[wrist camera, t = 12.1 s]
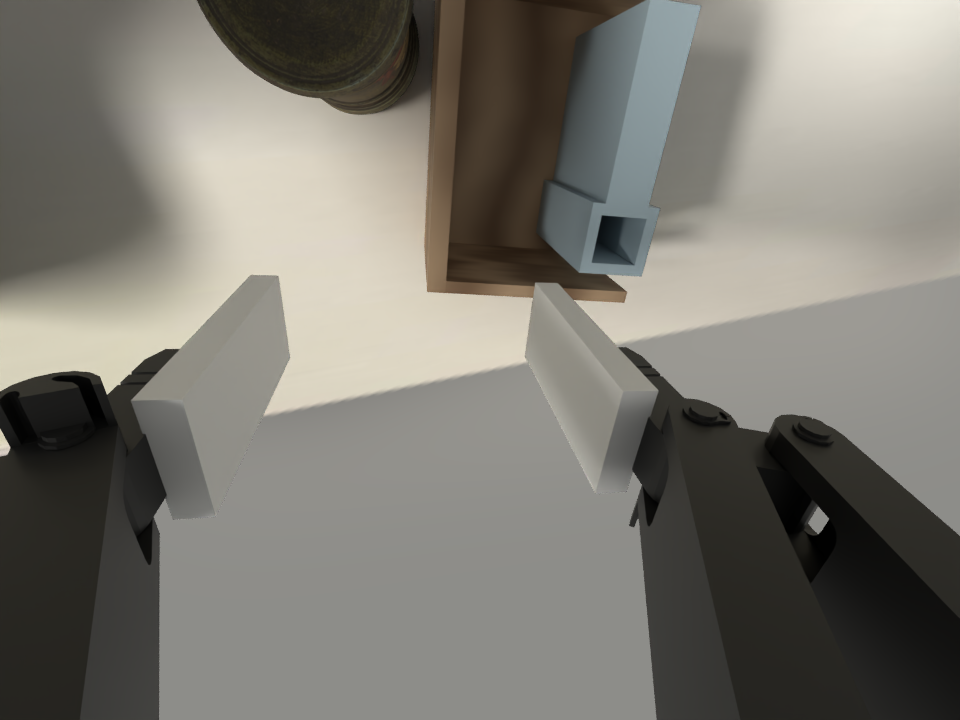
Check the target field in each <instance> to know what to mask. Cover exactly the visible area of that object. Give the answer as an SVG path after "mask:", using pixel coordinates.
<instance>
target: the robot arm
mask: <svg viewBox="0 0 960 720" xmlns="http://www.w3.org/2000/svg"><path fill="white" fill-rule="evenodd" d="M525 358H526V360H527V362H528V364H529V366H530V368H531V370H532V371H533V373H534V376H535V377H536V379H537V381H538V383H539V385H540V387H541V389H542V391H543V393H544V395H545V397H546V399H547V401H548V403H549V405H550V407H551V409H552V410H553V412H554V414H555V416H556V418H557V420H558V422H559V424H560V426H561V428H562V430H563V432H564V434H565V436H566V438H567V440H568V442H569V444H570V446H571V447H572V449H573V451H574V453H575V455H576V457H577V459H578V461H579V463H580V465H581V467H582V469H583V471H584V473H585V475H586V477H587V479H588V481H589V482H590V484H591V486H592V488H593V490H594V492H595V494H599V493H615V492H627V489H628V486H629V482H630V479H631V476H632V472H634V473H635V475H636V476H637V478H638V479H639V481H640V483H641V484H642V487H641V490H640V493H639V496H638V499H637V502H636V505H635V508H634V511H633V514H632V516H631V520H630V524H629V526H631V527H634V526H635V523H636V521H637V519H639V525H640V535H641V548H642V559H643V570H644V581H645V593H646V604H647V615H648V625H649V637H650V648H651V660H652V671H653V683H654V694H655V704H656V715H657V720H960V536H959V535H958V534H957V533H956V532H955V531H953V530H952V529H951V528H950V527H949V526H948V525H946V524H945V523H944V522H943V521H942V520H941V519H940V518H938V517H937V516H936V515H935V514H934V513H933V512H931V511H930V510H929V509H928V508H927V507H926V506H925V505H923V504H922V503H921V502H920V501H919V500H917V499H916V498H915V497H914V496H913V495H912V494H911V493H910V492H908V491H907V490H906V489H905V488H903V486H901V485H900V484H899V483H898V482H897V481H896V480H894V479H893V478H892V477H891V476H890V475H889V474H887V473H886V472H885V471H884V470H883V469H882V468H880V467H879V466H878V465H877V464H876V463H875V462H874V461H873V460H871V459H870V458H869V457H868V456H867V455H866V454H864V453H863V452H862V451H861V450H860V449H858V448H857V447H856V446H855V445H854V444H852V442H851V441H849V440H848V439H847V438H846V437H845V436H843V435H842V434H841V433H839V432H838V431H836V430H835V429H833V428H832V427H829V426H827V425H825V424H824V423H823V422H821V421H819V420H816V419H812V418H810V417H806V416H797V415H781V416H779V417H777V418H776V419H775V420H774V423H773V425H772V427H771V429H770V431H769V433H767V432H761V431H755V430H749V429H743V428H738V426H737V424H736V422H735V420H734V419H733V418H732V417H731V415H729V414H728V413H726V412H725V411H724V410H722V409H721V408H719V407H717V406H714V405H712V404H710V403H707V402H703V401H700V400H695V399H686V398H683V397H682V396H681V395H680V394H679V393H678V392H677V391H676V390H675V389H674V388H673V387H672V386H671V385H670V384H669V383H668V382H667V381H666V380H665V379H664V378H663V377H661V376H660V374H659V373H658V372H657V371H656V370H655V369H654V368H652V366H651V365H650V364H649V363H648V362H647V361H646V360H645V359H644V358H643V357H642V356H641V355H639V354H637V353H635V352H634V351H632V350H630V349H628V348H626V347H624V348H623V347H617V346H616V345H615V344H614V343H613V342H612V341H611V339H610V338H609V337H608V336H607V335H606V334H605V333H604V332H603V331H602V330H601V329H600V328H599V327H598V326H597V325H596V323H595V322H594V321H593V320H592V319H591V318H590V317H589V316H588V315H587V314H586V313H585V312H584V311H583V310H582V309H581V307H580V306H579V305H578V304H577V303H576V302H575V301H574V300H573V299H572V298H571V297H570V296H569V295H568V294H567V293H566V292H565V290H564V289H563V288H562V287H561V286H560V285H559V284H558V283H536V282H535V288H534V295H533V302H532V309H531V316H530V323H529V330H528V337H527V344H526V351H525ZM289 359H290V354H289V346H288V339H287V332H286V325H285V318H284V311H283V304H282V297H281V290H280V283H279V276H266V275H250V276H249V277H248V279H247V280H246V281H245V282H244V283H243V284H242V285H241V286H240V287H239V288H238V289H237V290H236V291H235V292H234V293H233V294H232V295H231V296H230V297H229V298H228V299H227V301H226V302H225V303H224V304H223V305H222V306H221V307H220V308H219V309H218V310H217V311H216V312H215V313H214V314H213V315H212V316H211V317H210V318H209V319H208V320H207V321H206V322H205V324H204V325H203V326H202V327H201V328H200V329H199V330H198V331H197V332H196V333H195V334H194V335H193V336H192V337H191V338H190V339H189V340H188V341H187V342H186V343H185V344H184V345H183V347H182V348H181V349H165V350H163V351H161V352H159V353H157V354H155V355H153V356H151V357H149V358H147V359H145V360H144V361H143V362H142V363H141V364H140V365H139V366H138V367H136V368H135V369H134V370H133V371H132V375H128V376H127V377H126V378H125V379H124V380H123V381H122V382H121V385H117V386H116V387H115V388H114V389H113V390H112V391H111V392H110V393H109V394H108V395H107V394H106V391H105V389H104V386H103V383H102V381H101V378H100V376H97V375H95V374H93V373H90V372H79V371H71V372H59V373H52V374H48V375H43V376H38V377H34V378H31V379H28V380H25V381H22V382H19V383H17V384H14V385H12V386H10V387H8V388H6V389H4V390H2V391H0V429H1V430H2V432H3V434H4V436H5V438H6V440H7V442H8V443H9V445H10V447H11V448H10V451H9V453H8V455H6V456H1V457H0V720H159V555H160V553H159V552H160V547H159V545H160V542H159V540H160V539H159V538H160V536H159V535H160V533H159V531H158V528H157V525H156V522H155V520H154V515H155V513H156V512H157V510H158V509H159V507H160V505H161V504H162V502H163V501H164V499H166V501H167V504H168V507H169V510H170V513H171V516H172V518H173V520H174V519H191V518H208V517H216V516H217V514H218V512H219V509H220V507H221V505H222V503H223V501H224V499H225V496H226V494H227V492H228V490H229V488H230V486H231V484H232V481H233V479H234V477H235V475H236V473H237V471H238V468H239V466H240V464H241V462H242V460H243V458H244V456H245V453H246V451H247V449H248V447H249V445H250V443H251V441H252V438H253V436H254V434H255V432H256V430H257V428H258V425H259V423H260V421H261V419H262V417H263V415H264V413H265V410H266V408H267V406H268V404H269V402H270V400H271V397H272V395H273V393H274V391H275V389H276V387H277V385H278V382H279V380H280V378H281V376H282V374H283V372H284V370H285V367H286V365H287V363H288V361H289ZM818 506H819V507H820V509H821V510H822V511H823V512H824V513H825V514H826V515H827V517H828V518H829V521H828V522H827V524H826V525H825V527H824V528H823V530H822V531H821V532H820V533H819V534H817V533H816V532H815V531H814V530H813V529H812V528H811V527H810V526H809V524H808V522H809V520H810V519H811V517H812V515H813V514H814V512H815V511H816V509H817V507H818Z"/></svg>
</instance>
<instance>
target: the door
mask: <svg viewBox="0 0 960 720" xmlns="http://www.w3.org/2000/svg"><path fill="white" fill-rule="evenodd" d="M700 8H701V6H699V5H693V4H687V3H681V2H675V1H669V0H645V1H643V2H642V3H640V4H638V5H636V6H634V7H632V8H630V9H628V10H626V11H625V12H623V13H621V14H619V15H617V16H615V17H613V18H611V19H609V20H608V21H606V22H604V23H602V24H600V25H598V26H596V27H594V28H592V29H591V30H589V31H587V32H585V33H583V34H581V35H579V36H577V37H576V41H575V48H574V54H573V60H572V66H571V72H570V79H569V85H568V91H567V97H566V103H565V110H564V116H563V122H562V128H561V134H560V141H559V147H558V153H557V159H556V165H555V172H554V178H553V181H552V180H544V183H543V189H542V196H541V203H540V209H539V216H538V222H537V229H536V233H537V234H538V235H539V236H540V237H541V238H542V239H543V240H545V241H546V242H547V243H548V244H549V245H550V246H551V247H552V248H553V249H554V250H555V251H556V252H557V253H558V254H560V255H561V256H562V257H563V258H564V259H565V260H566V261H567V262H568V263H569V264H570V265H571V266H572V267H574V268H575V269H576V270H577V271H578V272H579V273H592V274H609V275H626V276H642V273H643V269H644V266H645V262H646V258H647V255H648V251H649V247H650V244H651V240H652V236H653V233H654V229H655V226H656V222H657V218H658V215H659V211H660V208H658V207H655V206H653V205H650V204H649V203H650V199H651V195H652V191H653V188H654V184H655V180H656V176H657V172H658V169H659V165H660V161H661V157H662V153H663V149H664V146H665V142H666V138H667V134H668V130H669V127H670V123H671V119H672V115H673V111H674V107H675V104H676V100H677V96H678V92H679V88H680V85H681V81H682V77H683V73H684V69H685V65H686V62H687V58H688V54H689V50H690V46H691V43H692V39H693V35H694V31H695V27H696V23H697V20H698V16H699V12H700Z"/></svg>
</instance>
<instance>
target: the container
mask: <svg viewBox="0 0 960 720" xmlns="http://www.w3.org/2000/svg"><path fill="white" fill-rule="evenodd" d="M197 1H198V4H199V6H200V8H201V10H202V12H203V13H204V15H205V17H206V19H207V20H208V22H209V23H210V25H211V27H212V28H213V30H214V31H215V32H216V34H217V35H218V37H219V38H220V39H221V41H222V42H223V43H224V44H225V46H226V47H227V48H228V49H229V50H230V51H231V52H232V54H233V55H234V56H235V57H236V58H237V59H238V60H239V61H240V62H242V63H243V64H244V65H245V66H246V67H247V68H248V69H250V70H251V71H252V72H254V73H255V74H257V75H258V76H259V77H261V78H262V79H264V80H266V81H267V82H269V83H271V84H273V85H275V86H277V87H279V88H281V89H283V90H286V91H288V92H291V93H294V94H298V95H302V96H307V97H313V98H321V99H322V100H324V101H325V102H326V103H328V104H329V105H331V106H332V107H334V108H336V109H338V110H340V111H343V112H346V113H350V114H358V115H364V114H372V113H376V112H379V111H382V110H384V109H386V108H387V107H389V106H391V105H392V104H393V103H395V102H396V101H397V100H398V99H399V98H400V97H401V96H402V94H403V93H404V92H405V90H406V89H407V88H408V86H409V84H410V82H411V80H412V78H413V75H414V72H415V69H416V65H417V60H418V53H419V40H418V31H417V26H416V22H415V18H414V15H413V12H412V9H413V1H414V0H197Z"/></svg>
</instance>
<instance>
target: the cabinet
mask: <svg viewBox="0 0 960 720" xmlns="http://www.w3.org/2000/svg"><path fill="white" fill-rule="evenodd" d="M643 1H645V0H435V14H434V37H433V60H432V83H431V106H430V129H429V153H428V176H427V199H426V222H425V245H424V248H425V264H426V280H427V292H439V293H458V294H476V295H494V296H512V297H531V298H533V295H534V288H535V282H536V283H558V284H559V285H560V286H561V287H562V288H563V289H564V290H565V292H566V293H567V294H568V295H569V296H570V297H571V298H572V299H573V300H586V301H604V302H622V303H624V302H625V298H626V294H627V291H625V290H624V289H623V288H622V287H620V286H619V285H618V284H617V283H615V282H614V281H613V280H612V279H611V278H609V277H608V276H607V275H606V274H592V273H579V272H578V271H577V270H576V269H575V268H574V267H572V266H571V265H570V264H569V263H568V262H567V261H566V260H565V259H564V258H563V257H562V256H561V255H560V254H558V253H557V252H556V251H555V250H554V249H553V248H552V247H551V246H550V245H549V244H548V243H547V242H546V241H545V240H543V239H542V238H541V237H540V236H539V235H538V234H537V233H536V229H537V222H538V216H539V209H540V203H541V196H542V189H543V183H544V180H552V181H553V178H554V172H555V165H556V159H557V153H558V147H559V141H560V134H561V128H562V122H563V116H564V110H565V103H566V97H567V91H568V85H569V79H570V72H571V66H572V60H573V54H574V48H575V41H576V37H577V36H579V35H581V34H583V33H585V32H587V31H589V30H591V29H592V28H594V27H596V26H598V25H600V24H602V23H604V22H606V21H608V20H609V19H611V18H613V17H615V16H617V15H619V14H621V13H623V12H625V11H626V10H628V9H630V8H632V7H634V6H636V5H638V4H640V3H642V2H643Z"/></svg>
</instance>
